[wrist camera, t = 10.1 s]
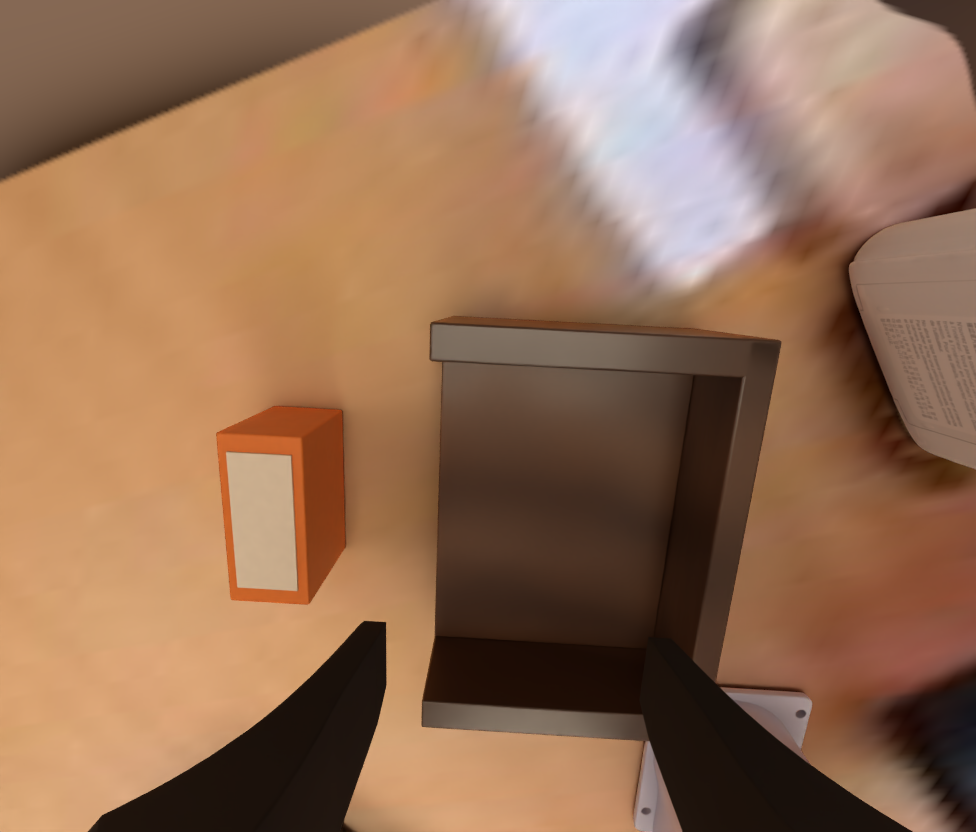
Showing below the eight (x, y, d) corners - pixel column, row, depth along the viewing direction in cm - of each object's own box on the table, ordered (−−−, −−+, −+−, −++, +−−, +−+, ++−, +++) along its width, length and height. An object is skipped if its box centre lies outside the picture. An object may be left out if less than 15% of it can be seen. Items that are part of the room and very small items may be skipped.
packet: (346, 547, 23) (308, 607, 19) (281, 543, 23) (228, 602, 19) (342, 409, 22) (300, 437, 17) (273, 405, 22) (213, 433, 17)
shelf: (650, 629, 24) (704, 745, 18) (441, 616, 24) (421, 727, 18) (695, 328, 20) (783, 340, 14) (451, 315, 21) (430, 321, 14)
